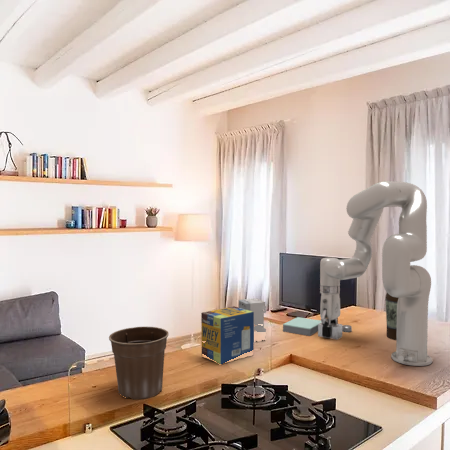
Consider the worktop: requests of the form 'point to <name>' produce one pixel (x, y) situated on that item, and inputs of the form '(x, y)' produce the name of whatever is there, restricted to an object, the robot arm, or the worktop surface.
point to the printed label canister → (391, 316)
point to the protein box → (227, 333)
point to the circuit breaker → (255, 311)
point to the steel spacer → (346, 328)
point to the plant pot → (139, 360)
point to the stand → (302, 326)
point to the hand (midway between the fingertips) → (329, 334)
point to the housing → (332, 330)
